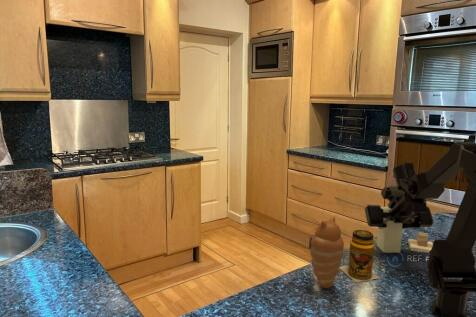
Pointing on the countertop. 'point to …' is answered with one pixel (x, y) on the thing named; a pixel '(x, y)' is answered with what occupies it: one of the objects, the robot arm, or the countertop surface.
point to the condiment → (360, 257)
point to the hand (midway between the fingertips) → (388, 227)
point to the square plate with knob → (420, 243)
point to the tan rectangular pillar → (389, 236)
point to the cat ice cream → (327, 252)
